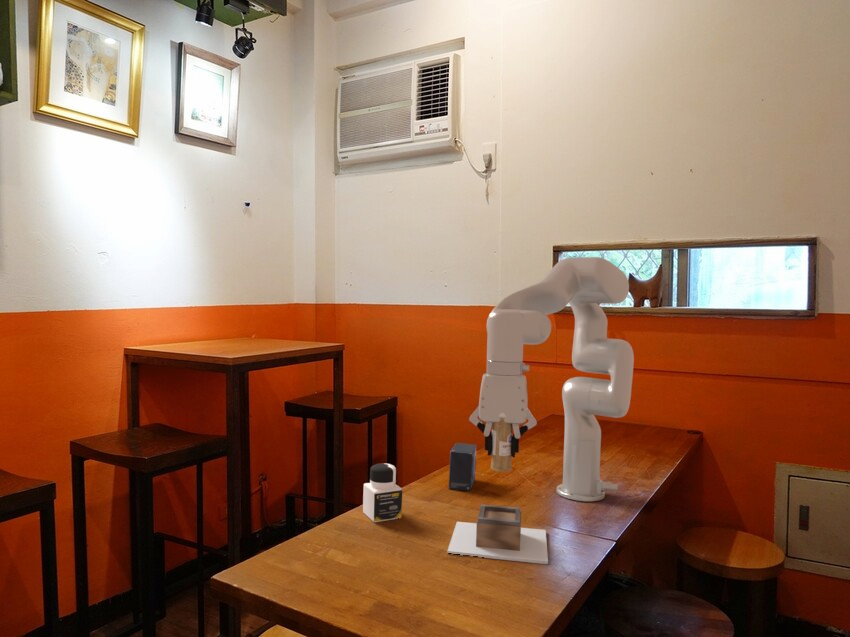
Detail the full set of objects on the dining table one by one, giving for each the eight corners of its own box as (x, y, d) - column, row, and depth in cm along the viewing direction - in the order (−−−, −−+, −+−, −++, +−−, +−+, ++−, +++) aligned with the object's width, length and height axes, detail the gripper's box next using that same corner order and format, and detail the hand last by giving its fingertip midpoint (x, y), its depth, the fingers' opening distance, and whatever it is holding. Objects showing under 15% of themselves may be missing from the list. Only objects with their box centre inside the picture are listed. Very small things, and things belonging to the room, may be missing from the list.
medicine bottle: (373, 523, 133) (375, 471, 133) (362, 512, 139) (363, 463, 139) (402, 518, 136) (403, 467, 136) (389, 508, 143) (390, 459, 142)
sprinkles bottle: (509, 473, 121) (511, 409, 120) (487, 470, 122) (489, 406, 122) (513, 467, 125) (516, 405, 124) (493, 465, 126) (495, 403, 126)
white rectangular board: (545, 532, 130) (545, 529, 130) (547, 564, 115) (547, 561, 115) (456, 524, 134) (456, 521, 134) (447, 553, 118) (447, 550, 118)
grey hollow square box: (520, 533, 128) (521, 507, 128) (519, 551, 119) (520, 523, 119) (479, 529, 129) (480, 503, 129) (475, 546, 120) (476, 518, 120)
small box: (471, 491, 157) (472, 453, 156) (447, 489, 158) (449, 451, 158) (476, 479, 167) (477, 443, 167) (453, 477, 168) (454, 442, 168)
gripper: (544, 369, 125) (541, 453, 126) (466, 365, 128) (463, 447, 129) (545, 373, 118) (542, 462, 118) (462, 369, 121) (459, 456, 121)
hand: (501, 453), depth 123 cm, fingers closed on sprinkles bottle, 4 cm apart
